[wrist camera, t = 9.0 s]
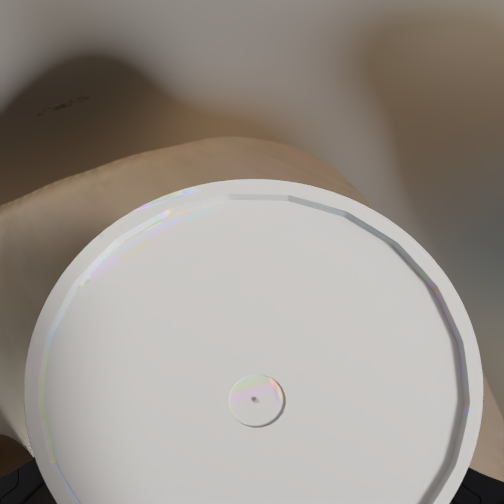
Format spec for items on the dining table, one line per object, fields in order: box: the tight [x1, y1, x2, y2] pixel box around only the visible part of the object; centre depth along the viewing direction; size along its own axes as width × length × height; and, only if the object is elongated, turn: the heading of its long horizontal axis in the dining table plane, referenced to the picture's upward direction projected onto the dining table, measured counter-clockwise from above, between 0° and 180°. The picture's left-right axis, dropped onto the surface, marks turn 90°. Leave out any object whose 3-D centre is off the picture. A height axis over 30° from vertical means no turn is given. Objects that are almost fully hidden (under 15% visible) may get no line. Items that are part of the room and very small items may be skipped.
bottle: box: [24, 179, 483, 504], centre depth 9 cm, size 7×7×15 cm
